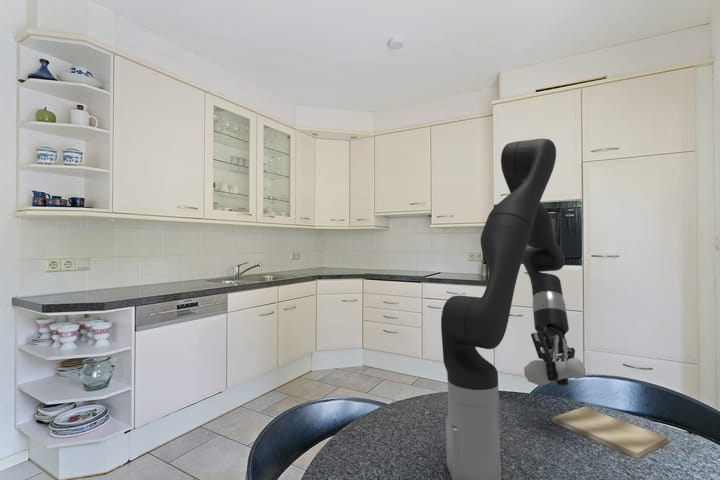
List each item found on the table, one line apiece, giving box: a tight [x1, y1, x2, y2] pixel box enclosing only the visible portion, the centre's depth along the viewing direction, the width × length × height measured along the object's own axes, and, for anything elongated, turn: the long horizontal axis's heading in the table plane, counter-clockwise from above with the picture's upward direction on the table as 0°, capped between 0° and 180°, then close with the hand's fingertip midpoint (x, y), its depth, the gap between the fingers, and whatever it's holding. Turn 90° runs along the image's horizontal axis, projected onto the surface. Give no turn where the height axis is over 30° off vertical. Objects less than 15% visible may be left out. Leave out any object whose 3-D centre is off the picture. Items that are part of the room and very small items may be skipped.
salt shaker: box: [523, 357, 586, 387], centre depth 81 cm, size 6×6×13 cm
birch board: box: [552, 406, 669, 460], centre depth 81 cm, size 18×13×1 cm
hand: (558, 382), depth 79 cm, fingers closed on salt shaker, 3 cm apart
